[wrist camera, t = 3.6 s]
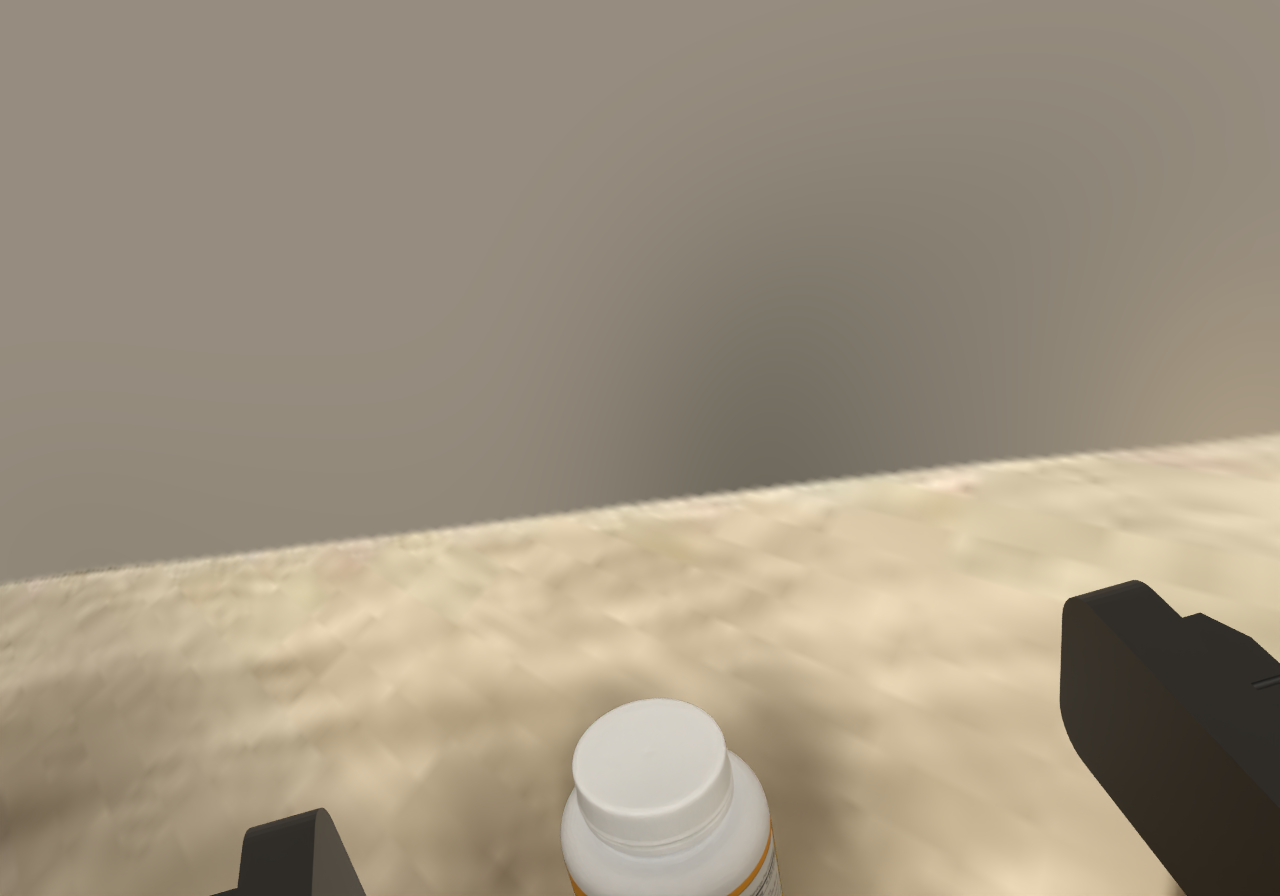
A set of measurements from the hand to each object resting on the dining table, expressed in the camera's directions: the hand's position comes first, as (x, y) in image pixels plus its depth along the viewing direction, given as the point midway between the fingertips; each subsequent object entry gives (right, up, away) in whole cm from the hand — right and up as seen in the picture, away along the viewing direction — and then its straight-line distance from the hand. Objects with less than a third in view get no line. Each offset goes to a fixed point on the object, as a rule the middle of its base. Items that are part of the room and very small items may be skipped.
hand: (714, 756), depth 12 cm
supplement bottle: (+1, -13, +22) cm, 25 cm away
